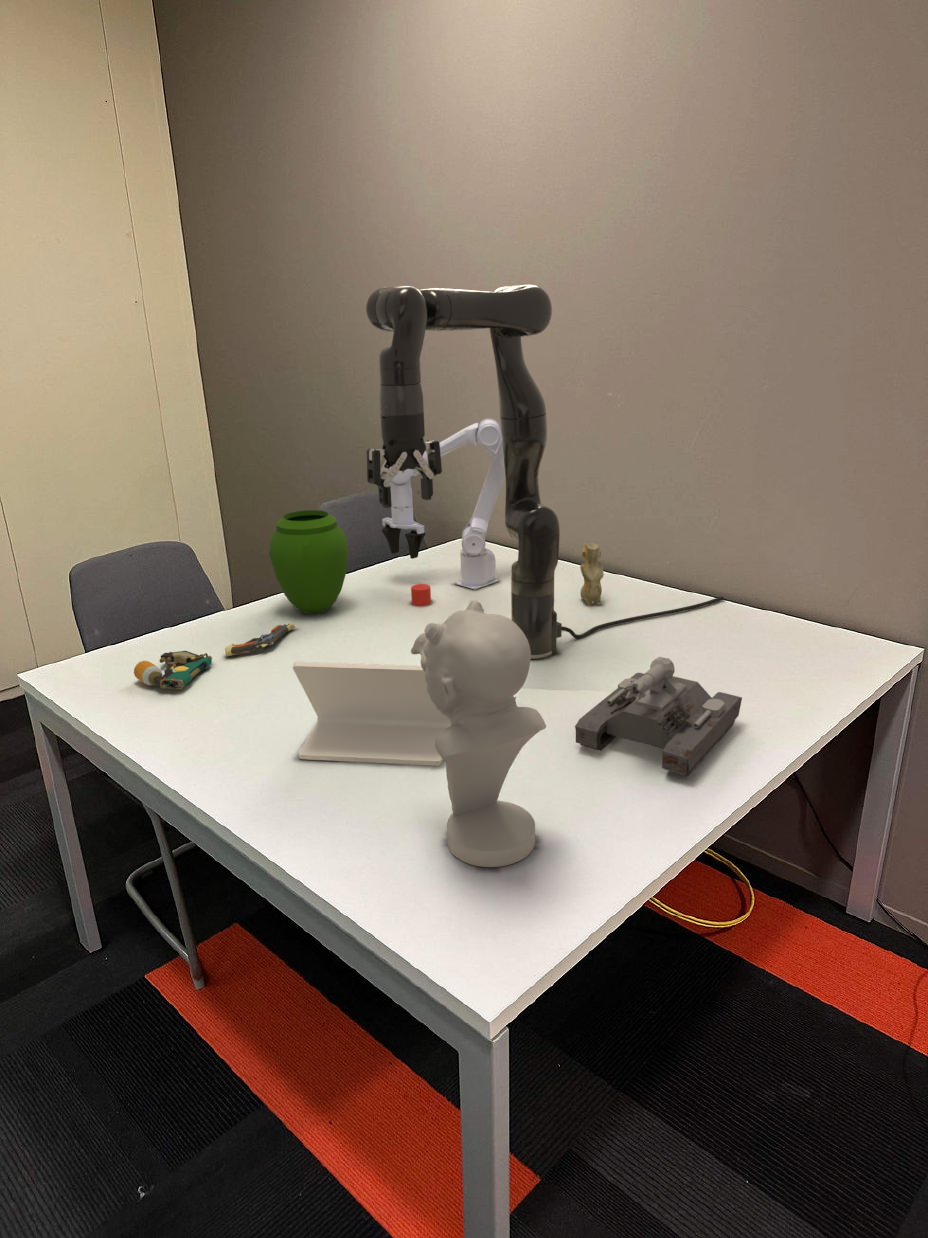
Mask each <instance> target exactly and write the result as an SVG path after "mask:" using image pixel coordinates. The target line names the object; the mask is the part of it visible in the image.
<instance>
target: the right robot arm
mask: <svg viewBox="0 0 928 1238" xmlns="http://www.w3.org/2000/svg"><path fill="white" fill-rule="evenodd" d="M365 313H366V317H367V319H368V321H369V322H370V324H371V325H372V326H373V327H374V328H375V329H377V330H379V331H381V332H387V333H388V332H392V333H393V334H392V340H391V344H390V346H388V347H385V348H383V349H381V351H380V352H379V353H378V377H379V396H378V399H379V417H380V430H381V432H380V433H381V439H382V443H383V444H382V447H381V448H376V449H375V448H369V447H368V448H367V450H366V480H367V481H366V482H367V483H369V484H372V485H375V486H377V487H378V502H379V504H380V505H381V507H382V508H385V509H389V508H390V509H391V507H392V503H391V486H390V483H391V481H392V479H393V477H394V476H396V475H397V473H398V471H405V470H407V469H416V470H417V471H418V472H419V474H418V475H419V476H420V477H421V478H420V495H421V499H422V500H425V501H430V500H432V497H433V496H434V482H433V480H434V477H436V476H437V475H441V474H442V472H443V468H442V467H443V466H442V456H441V454H440V441H438V440H435V439H427V440H426V441H425V439H424V437H425V435H426V431H425V410H424V409H425V408H424V407H425V406H424V394H423V387H422V375H421V356H422V355H421V354H422V350H423V346H424V341H425V336H426V335H425V334H426V331H428V332H429V331H431V332H461V331H471V330H485V329H489V334H490V339H491V346H492V351H493V357H494V363H495V370H496V380H497V389H498V390H497V391H498V400H499V402H498V403H499V419H500V427H501V435H502V443H503V455H504V467H505V498H504V499H505V506H504V525H505V528H506V531H507V534H508V535H509V536H510V537H511V538H512V539H513V540H514V541H516V542H517V543H518V551H517V552H518V553H517V560H516V561H514V562H513V563H512V564H511V567H510V588H511V589H510V597H511V599H510V603H511V604H510V606H511V607H510V609H511V610H510V615H511V617H510V619H511V620H512V621H513V622H514V623H515V624H516V625H517V626H518V627H519V628H520V629H521V630H522V632H523V633H524V634H525V636H526V638H527V640H528V643H529V646H530V652H531V653H530V655H531V656H530V660H540V659H545V658H548V657H550V656H552V655H557V654H558V653H557V650H558V649H557V648H558V647H557V645H558V644H557V643H558V638H561V637H562V632H563V631H564V632H567V633H569V634H570V635H571V636H572V637H573V638H574V639H577V640H578V639H579V640H580V639H584V638H586V637H588V636H590V635H591V634H592V633H594V632H596V631H598V630H602V629H605V628H608V627H611V626H615V625H620V624H626V623H630V622H635V621H639V620H640V621H641V620H645V619H649V618H654V617H661V616H666V615H672V614H676V613H680V612H685V611H690V610H694V609H697V608H702V607H705V606H708V605H709V606H710V605H712V604H714V603H718V602H720V601H723V600H724V598H725V597H724V596H723V595H722V596H718V597H716V598H712V599H710V600H707V601H704V602H700V603H696V604H693V605H688V606H687V605H686V606H683V607H679V608H673V609H669V610H663V611H657V612H652V613H646V614H641V615H636V616H630V617H627V618H621V619H618V620H613V621H610V622H605V623H601V624H599V625H596V626H594V627H591V628H590V629H588V630H587V631H585V632H584V633H582V634H581V633H580V634H577V633H576V632H574V630H573V629H572V628H569V627H567V626H563V623H561V622H559V621H558V613H557V612H556V611H555V572H556V569H557V566H558V563H559V554H560V533H561V531H560V520H559V518H558V515H557V513H556V512H555V511H554V510H553V509H551V508H550V507H548V506H546V505H544V504H542V501H541V496H540V485H539V484H540V483H539V474H540V473H539V471H540V467H541V462H542V461H543V457H544V453H545V449H546V445H547V441H548V440H547V439H548V422H547V408H546V402H545V399H544V397H543V395H542V393H541V391H540V389H539V387H538V385H537V383H536V381H535V380H534V378H533V377H532V374H531V373H530V371H529V369H528V367H527V364H526V362H525V358H524V357H525V356H524V354H523V353H524V351H523V345H522V337H525V338H526V337H534V336H538V335H540V334H541V333H542V332H544V331H545V330H546V329H547V327H548V326H549V324H550V322H551V319H552V316H553V315H552V314H553V305H552V301H551V298H550V296H549V294H548V293H547V292H546V290H545V289H543V288H542V287H540V286H537V285H534V284H522V285H521V284H519V285H509V286H508V285H506V286H501V287H498V288H496V289H495V290H494V291H485V290H473V289H462V288H461V289H460V288H459V289H458V288H442V287H441V288H438V287H432V288H422V289H418V288H416V287H414V286H411V285H401V286H384V287H379V288H377V289H374V290H373V292H371V294H370V295H369V297H368V298H367V300H366V304H365ZM425 451H426V453H427V456H428V464H427V463H426V461H425V460H424V458H423V457H422V456H423V454H424V452H425ZM383 458H384V459H385V460H384V462H383V464H382V466H381V462H382V461H383ZM390 467H392V468H391V469H390Z"/></svg>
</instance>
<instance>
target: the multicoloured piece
mask: <svg viewBox="0 0 928 1238" xmlns="http://www.w3.org/2000/svg"><path fill="white" fill-rule="evenodd" d="M212 660H213V657H212V656H211V655H208V653H207V652H205V653H201V654H197V653H194V652H192V651H191V652H190V651H188V650H180V651H169V652H164V653H162V654H161V655H160V658H159V660H158V662H159V663H161V664H163V663H165V664H166V668H165V670H163V672H164V674H163V673H162V669H160V668H159V666H157V665H156V664H154V663H152V662H151V661H149V660H141V661H139V662H138V663H136V665H135V666H134V668H133V675H134V677H135V678H136V679H137V680H139V681H140V682H142V683H143V684H145V685H147V686H155V685H157V686H158V687H160V688H161V689H171V690H172V689H173V690H182V689H184V687H185V686H186V685H188V684H189V683H190V682H191V681H192V679H193V678H195V677H196V676H197V675H198V674H200V673H201V672H202V671H203V670H206V669H208V668H209V667H210V666H211V665H212V662H213V661H212ZM178 663H179V664H181V665H179V666H176V665H177V664H178Z"/></svg>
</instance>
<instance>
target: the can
mask: <svg viewBox="0 0 928 1238" xmlns="http://www.w3.org/2000/svg"><path fill="white" fill-rule="evenodd" d="M410 596H411V604H412V605H413V606H417V607H424V606H428V605H431V603H432V591H431V585H429V584H426V583H418V584H414V585H411V586H410Z"/></svg>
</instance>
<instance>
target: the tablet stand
mask: <svg viewBox="0 0 928 1238" xmlns="http://www.w3.org/2000/svg"><path fill="white" fill-rule="evenodd" d="M292 665H293V666H292V670H293V671H294V673H295V675H296V677H297V679H298V681H299V683H300V685H301V687H302V689H303V692H304V694H305V695H306V697H307V699H308V700H309V703H310V704H311V706H312V708H313V711H314V712H315V714H316V716H317V721H316V724H315V725H314V727H313V728H312V731H311V732H310V734H309V735H308V736H307V738H306V739H305V741H304V742H303V745H301V748H300V749H299V750H298V759H300V760H311V761H312V760H314V761H333V762H334V761H335V762H353V763H354V762H355V763H377V764H396V765H398V764H399V765H417V766H440V765H442V763H443V759H442V758H441V756H440V755H439V753H438V752H437V750H436V747H435V740H436V737H437V736H438V735H439V734H440V733H441V732H442V731H443V730H445V729H446V728H448V727H450V726H451V720H450V719H449V718H448V717H447V716H446V715H443V714H442V713H441V712H440V711H439V710H438V709H437V708H436V706H435V704H434V703H433V702H432V701H431V698H430V695H429V693H428V691H427V683H426V681H425V671H424V670H423V669H422V667H421V665H412V664H410V665H409V664H408V665H407V664H377V663H375V664H374V663H346V662H344V663H343V662H317V661H316V662H315V661H313V662H312V661H295V662H293V664H292Z"/></svg>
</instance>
